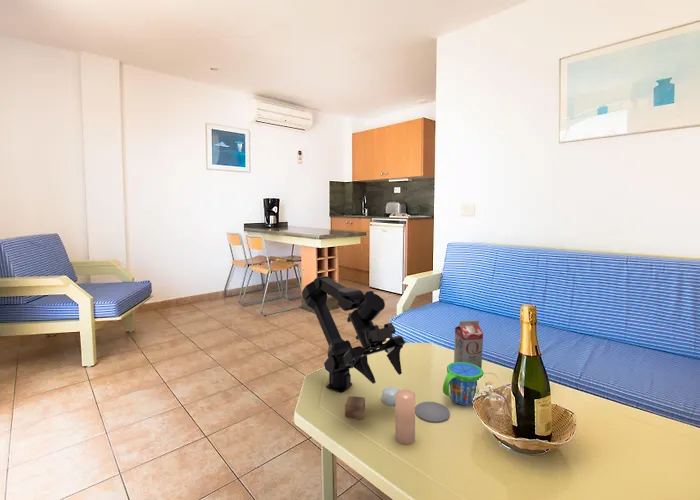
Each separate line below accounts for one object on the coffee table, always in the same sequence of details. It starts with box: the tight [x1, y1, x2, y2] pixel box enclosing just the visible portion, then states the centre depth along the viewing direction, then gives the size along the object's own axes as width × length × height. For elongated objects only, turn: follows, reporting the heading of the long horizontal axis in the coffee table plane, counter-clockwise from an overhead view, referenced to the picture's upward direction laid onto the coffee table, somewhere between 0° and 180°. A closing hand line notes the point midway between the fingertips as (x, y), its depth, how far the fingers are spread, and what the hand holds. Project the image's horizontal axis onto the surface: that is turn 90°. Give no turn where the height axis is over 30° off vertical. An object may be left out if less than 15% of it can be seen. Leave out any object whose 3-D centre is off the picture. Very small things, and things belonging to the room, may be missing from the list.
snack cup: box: [442, 361, 485, 407], centre depth 111 cm, size 16×10×10 cm
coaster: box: [415, 401, 451, 424], centre depth 105 cm, size 10×10×1 cm
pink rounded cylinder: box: [394, 389, 416, 445], centre depth 93 cm, size 5×5×12 cm
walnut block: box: [344, 395, 366, 420], centre depth 105 cm, size 5×5×4 cm
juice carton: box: [453, 319, 484, 370], centre depth 121 cm, size 7×7×22 cm
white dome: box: [381, 386, 401, 407], centre depth 111 cm, size 6×6×3 cm
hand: (387, 378), depth 98 cm, fingers open, 9 cm apart
